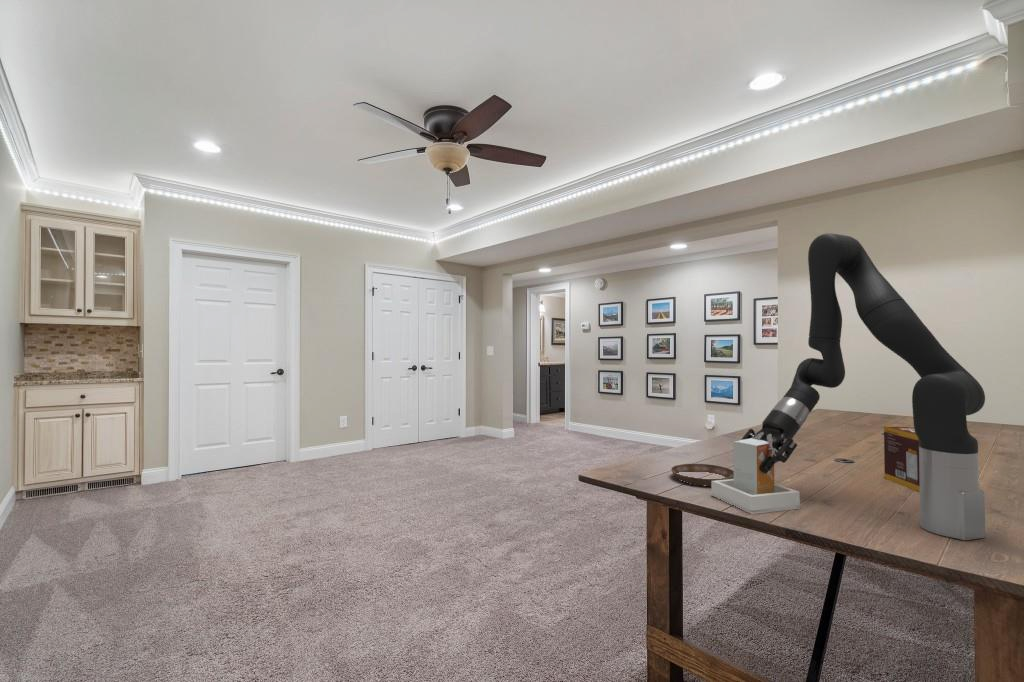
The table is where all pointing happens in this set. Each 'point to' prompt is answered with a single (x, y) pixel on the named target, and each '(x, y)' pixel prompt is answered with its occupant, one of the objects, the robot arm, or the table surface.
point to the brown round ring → (701, 468)
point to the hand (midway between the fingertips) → (749, 466)
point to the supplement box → (902, 456)
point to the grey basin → (756, 497)
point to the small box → (752, 467)
